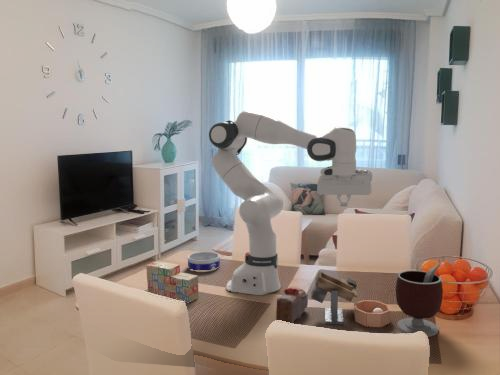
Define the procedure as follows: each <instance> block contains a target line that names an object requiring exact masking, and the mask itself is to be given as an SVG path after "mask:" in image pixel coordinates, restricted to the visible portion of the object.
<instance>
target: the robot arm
mask: <svg viewBox="0 0 500 375" xmlns="http://www.w3.org/2000/svg"><path fill="white" fill-rule="evenodd" d="M208 138H209V141H210V143H211V144H212V145H213V146H214V147H215V148H217V150H216V152H215V153H214V154H213V155H212V157H211V164H212V167H213V168H214V170H215V171H216V173H217V175H218V176H219V177H220V179H221V180H222V182H223V183H225V185H226V186H227V187H228V188H229V190H230V192H231V193H232V194H233V195H235V196H236V197H237V198H240V199H242V200H243V202H242V203H241V204H240V205H239V209H238V210H239V211H238V213H239V217H240V218H241V220H242V221H243V222H244V223H245V226H246V229H247V233H248V240H249V241H248V243H249V244H248V245H249V251H246V252H245V253H244V254H245V256H244V262H243V263H242V264H241V265H240V266H238V267H236V269H235V270H234V271H233V273H232V276H231V279H230V280H229V281H227V283H226V286H225V289H227V290H228V291H227V290H226V291H227V292H229V291H231V293H237V292H238V294H244V295H245V294H247V295H255V296H264V295H267V294H270V293H274V292H277V291H279V290H280V289H281V287H282V285H281V283H280V280H279V274H278V267H279V264H278V263H279V261H278V260H279V258H278V253H277V234H276V232H275V231H274V230H273V227H272V223H271V222H272V221H271V220H272V219H273V218H275V217H277V216H278V215H279V214H280V213H281V212H282V211H283V209H284V200H283V198H282V196H281V195H280V194H278V193H277V192H274V191H272V190H271V189H270V188H269V187H267V186H266V185H265V184H264V183H263V182H261V181H260V180H259V179H258V178H256V177H255V176H254V175H253V174H252V172H251V171H250V170H249V169H248V167H247V166H246V165H245V164H244V162H242V161H241V159H240V158H239V156H238V155H240V154H241V152H242V150H243V149H244V148H245V146H246V145H247V142H248V139H252V140H255V141H257V142H260V143H264V144H267V145H268V144H269V145H293V146H296V147H299V148H302V149H305V150H307V151H306V152H307V154H308V157H309V158H310V159H311V160H313V161H316V162H325V161H328V162H329V161H331V162H332V163H331V164H332V165H331V166H327V167H324V168H321V169H320V171H319V173H320V175H319V177H318V181H317V187H316V188H317V189H316V193H317V194H318V195H320V196H321V195H332V196H333V195H334V196H336V198H337V200H338V203H339V207H349V206H348V204H349V201H350V200H351V198H352V197H351V196H352V195H353V196H354V195H355V196H356V195H357V196H359V195H360V196H365V195H366V196H369V195H371V194H372V181H373V173H372V172H371V171H370V170H367V169H365V170H363V169H357V160H356V153H357V137H356V133H355V131H354V130H353V129H352V128H349V127H343V126H336V127H333V129H332V130H330V131H328V132H326V133H324V134H321V135H318V136H317V135H314V134H311V133H308V132H305V131H302V130H299V129H296V128H294V127H292V126H290V125H288V124H287V123H284V122H283V121H281V120H279V119H277V118H275V117H273V116H272V115H271V116H270V115H268V114H265V113H262V112H259V111H258V112H257V111H253V110H242V111H241V112H240V113H239V114H238V116H237V117H236V120H235V121H234V120H231V119H230V120H227V121H221V122H220V121H219V122H218V123H215V124H214V125H212V126H211V127H210V129H209V132H208ZM343 195H344V196H346V200H345V201H344V200H342V199H341V198H342V196H343Z"/></svg>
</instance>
